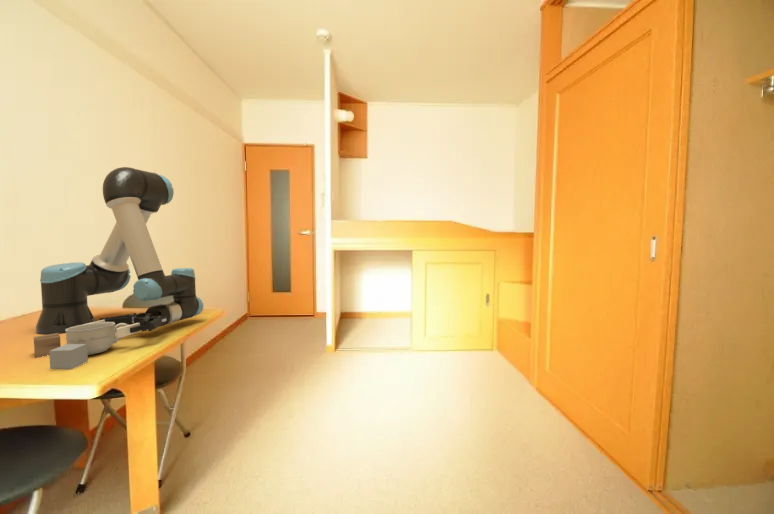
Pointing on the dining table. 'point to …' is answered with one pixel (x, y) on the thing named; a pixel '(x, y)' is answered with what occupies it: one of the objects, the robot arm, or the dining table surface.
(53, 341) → the walnut block
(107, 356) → the dining table surface
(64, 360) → the slate block
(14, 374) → the dining table surface
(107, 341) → the teacup
